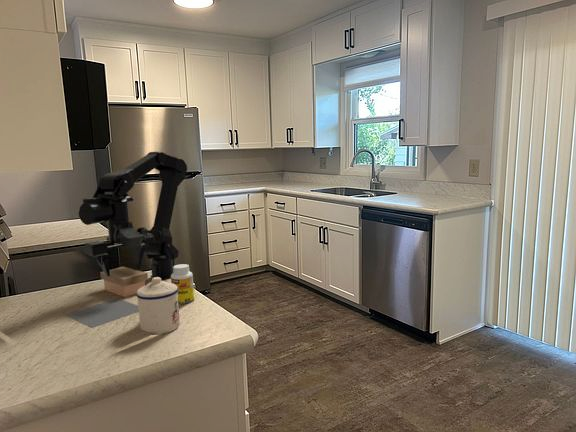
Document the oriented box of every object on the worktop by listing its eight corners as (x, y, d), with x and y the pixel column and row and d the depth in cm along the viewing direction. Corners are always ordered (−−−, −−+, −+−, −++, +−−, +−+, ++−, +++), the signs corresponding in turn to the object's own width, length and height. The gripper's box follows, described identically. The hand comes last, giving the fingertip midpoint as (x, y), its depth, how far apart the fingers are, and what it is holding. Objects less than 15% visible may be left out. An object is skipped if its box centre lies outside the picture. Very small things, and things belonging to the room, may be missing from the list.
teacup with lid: (183, 331, 93) (179, 280, 92) (140, 339, 90) (135, 286, 88) (177, 312, 104) (173, 267, 103) (138, 319, 101) (134, 272, 100)
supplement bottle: (169, 307, 108) (166, 269, 107) (177, 300, 114) (174, 263, 112) (190, 307, 108) (187, 268, 106) (197, 299, 113) (194, 263, 112)
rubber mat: (118, 301, 115) (117, 298, 115) (147, 311, 106) (146, 308, 106) (65, 317, 104) (64, 314, 104) (92, 331, 95) (92, 327, 95)
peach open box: (125, 286, 128) (124, 273, 127) (145, 293, 121) (144, 279, 120) (105, 292, 123) (103, 279, 122) (125, 299, 116) (123, 285, 115)
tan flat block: (123, 272, 128) (123, 266, 128) (147, 279, 120) (147, 273, 119) (100, 278, 122) (100, 272, 122) (124, 286, 114) (123, 279, 114)
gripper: (100, 226, 106) (106, 286, 109) (163, 216, 121) (167, 269, 123) (79, 223, 113) (85, 279, 116) (141, 213, 128) (146, 263, 130)
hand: (123, 272), depth 121 cm, fingers open, 9 cm apart
